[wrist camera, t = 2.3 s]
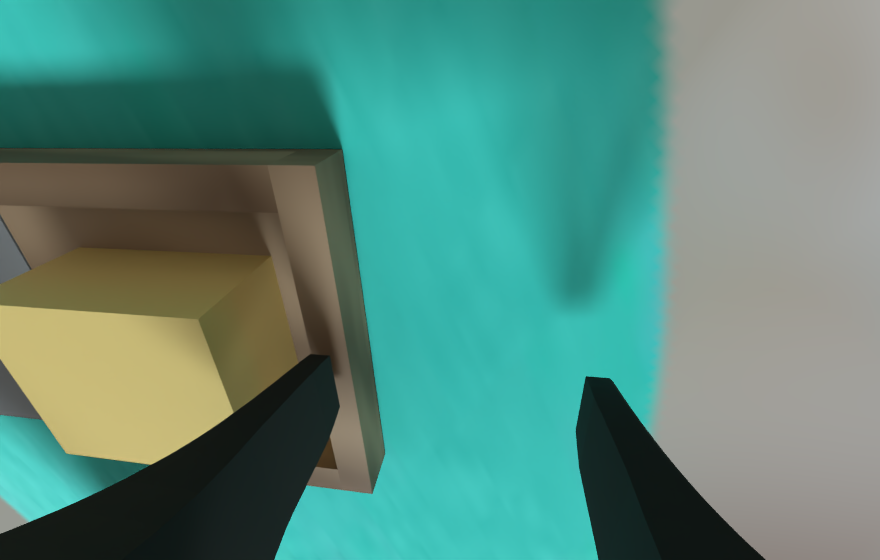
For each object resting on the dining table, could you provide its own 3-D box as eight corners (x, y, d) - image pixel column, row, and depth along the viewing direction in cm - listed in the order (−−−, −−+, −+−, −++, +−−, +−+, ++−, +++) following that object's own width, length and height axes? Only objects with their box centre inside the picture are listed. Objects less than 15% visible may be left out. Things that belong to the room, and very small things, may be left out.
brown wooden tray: (384, 453, 17) (372, 493, 16) (129, 424, 19) (95, 457, 18) (342, 149, 11) (314, 165, 10) (-26, 148, 13) (-99, 161, 12)
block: (307, 397, 16) (258, 478, 13) (145, 381, 17) (66, 453, 14) (271, 255, 13) (197, 319, 10) (79, 247, 14) (-40, 302, 11)
